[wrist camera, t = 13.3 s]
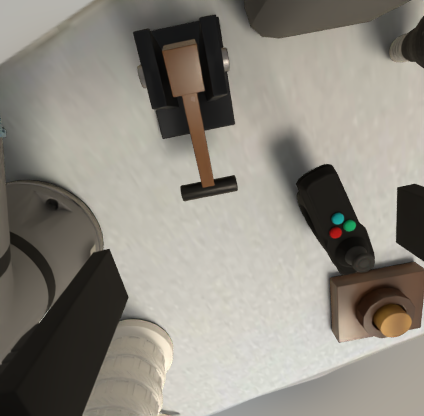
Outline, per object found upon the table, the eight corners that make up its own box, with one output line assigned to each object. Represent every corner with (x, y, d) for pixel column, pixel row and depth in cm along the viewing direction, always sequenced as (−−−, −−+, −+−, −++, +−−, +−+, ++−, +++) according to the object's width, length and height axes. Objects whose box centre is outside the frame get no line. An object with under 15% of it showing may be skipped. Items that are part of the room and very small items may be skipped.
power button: (372, 329, 37) (380, 339, 35) (372, 306, 36) (381, 316, 34) (401, 324, 37) (410, 334, 35) (403, 300, 36) (412, 310, 34)
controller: (313, 246, 36) (353, 294, 27) (274, 167, 32) (305, 191, 23) (342, 231, 36) (394, 275, 26) (307, 149, 32) (353, 166, 22)
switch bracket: (233, 123, 30) (257, 133, 18) (163, 137, 30) (141, 157, 18) (217, 20, 27) (233, -52, 15) (138, 36, 27) (91, -22, 15)
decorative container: (154, 309, 38) (120, 467, 21) (185, 364, 42) (176, 535, 25) (80, 333, 39) (-9, 504, 22) (117, 385, 43) (65, 564, 26)
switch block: (331, 331, 41) (345, 353, 38) (329, 277, 38) (343, 295, 34) (409, 316, 41) (430, 337, 38) (414, 261, 38) (438, 278, 34)
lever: (234, 182, 26) (239, 196, 24) (183, 192, 26) (184, 207, 24) (215, 34, 18) (219, 38, 16) (143, 49, 18) (139, 55, 16)
